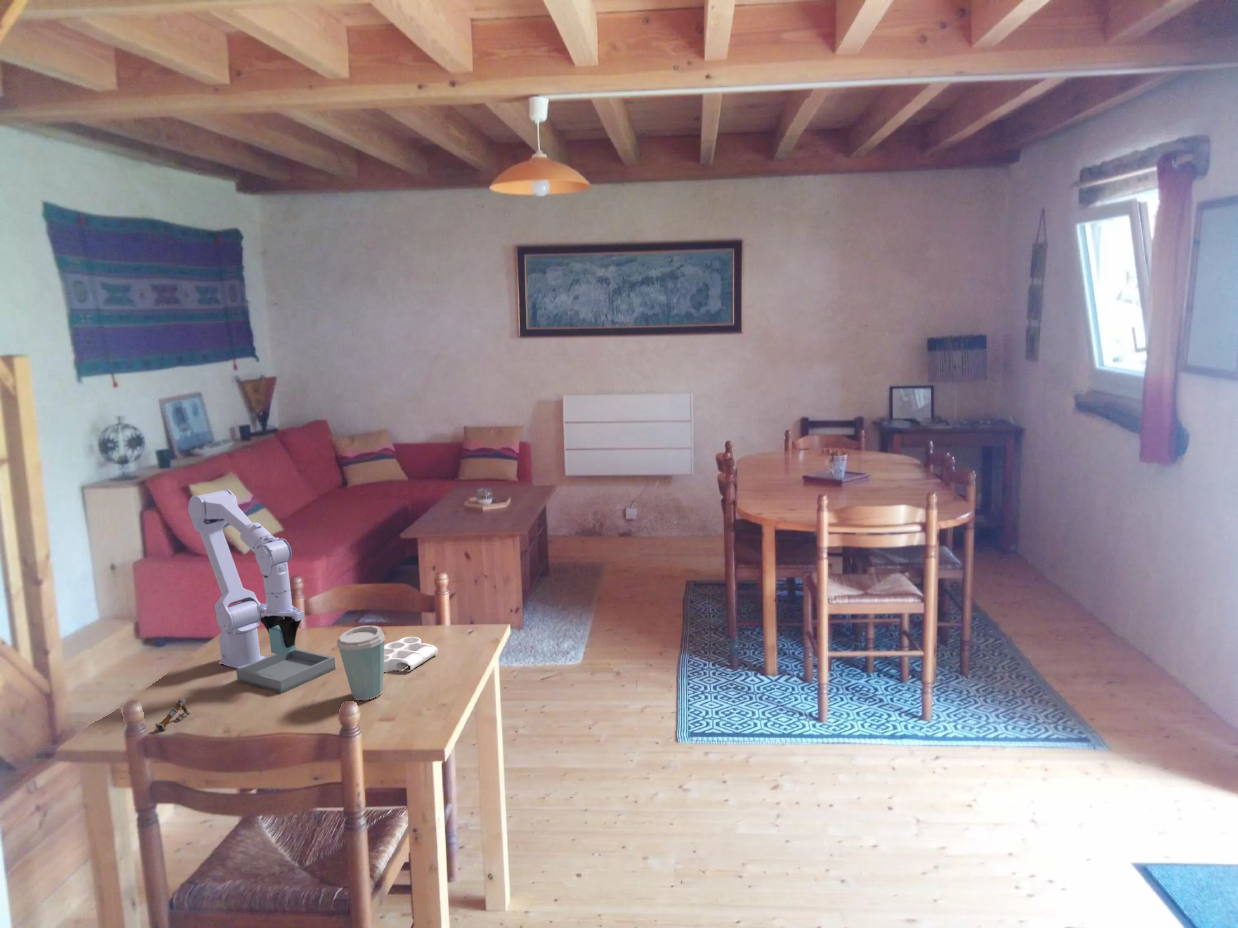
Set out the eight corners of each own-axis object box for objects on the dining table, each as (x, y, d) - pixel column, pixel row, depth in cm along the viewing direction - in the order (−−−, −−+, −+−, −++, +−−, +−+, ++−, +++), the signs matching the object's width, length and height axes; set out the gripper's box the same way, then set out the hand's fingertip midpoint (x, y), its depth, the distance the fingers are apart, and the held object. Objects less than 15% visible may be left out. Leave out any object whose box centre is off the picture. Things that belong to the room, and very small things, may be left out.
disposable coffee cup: (372, 707, 203) (366, 642, 201) (331, 702, 207) (325, 638, 205) (399, 688, 213) (394, 626, 211) (360, 683, 217) (354, 622, 214)
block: (271, 652, 222) (268, 628, 221) (285, 646, 226) (282, 623, 225) (282, 655, 220) (279, 631, 219) (296, 649, 224) (293, 625, 222)
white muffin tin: (403, 679, 219) (353, 672, 225) (445, 652, 236) (398, 646, 241) (402, 666, 219) (352, 659, 224) (444, 639, 235) (396, 634, 241)
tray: (237, 681, 222) (236, 669, 221) (292, 658, 235) (290, 647, 234) (281, 693, 213) (280, 680, 213) (335, 668, 227) (334, 657, 226)
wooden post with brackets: (194, 710, 204) (186, 696, 202) (170, 738, 198) (161, 724, 195) (188, 709, 205) (179, 695, 202) (164, 738, 198) (154, 723, 196)
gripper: (243, 591, 221) (250, 645, 223) (284, 599, 213) (290, 655, 216) (268, 583, 227) (274, 636, 229) (308, 590, 219) (314, 645, 222)
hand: (283, 644), depth 223 cm, fingers closed on block, 4 cm apart
